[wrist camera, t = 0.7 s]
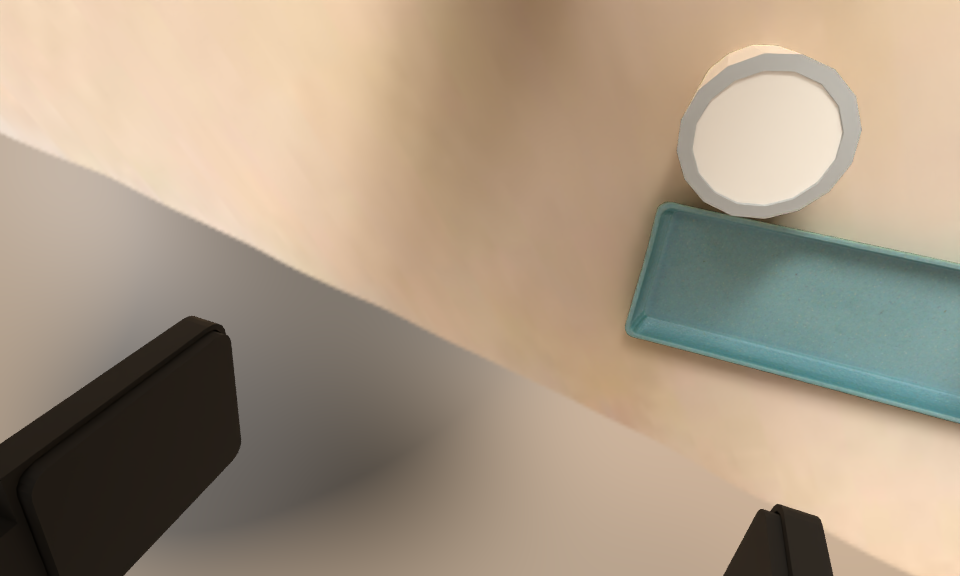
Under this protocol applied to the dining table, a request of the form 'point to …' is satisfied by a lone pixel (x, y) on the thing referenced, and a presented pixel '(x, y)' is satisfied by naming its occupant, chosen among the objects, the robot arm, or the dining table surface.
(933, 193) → the dining table surface
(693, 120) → the white cup
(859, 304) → the teal serving tray
